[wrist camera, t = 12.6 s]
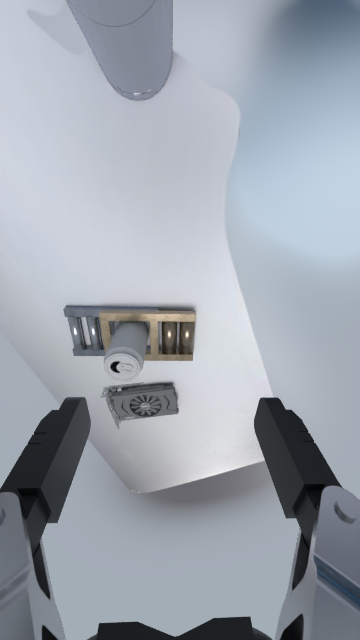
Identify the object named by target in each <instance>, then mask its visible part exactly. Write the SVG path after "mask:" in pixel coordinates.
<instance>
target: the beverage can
mask: <svg viewBox="0 0 360 640" xmlns="http://www.w3.org/2000/svg"><path fill="white" fill-rule="evenodd" d="M148 335H149V331H148V328H147V326H146V325H145V323H144V322H142V321H121V322H120V323H119V325H118V327H117V329H116V331H115V334H114V336H113V338H112V340H111V343H110V345H109V347H108V350H107V352H106V354H105V357H104V369H105V372H106V373H107V375H108V376H109V377H111V378H112V379H114V380H117V381H130V380H132V379H134V378H136V377H137V376H138V374H139V373H140V371H141V370H142V368H143V364H144V358H145V352H146V346H147V340H148Z"/></svg>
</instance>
